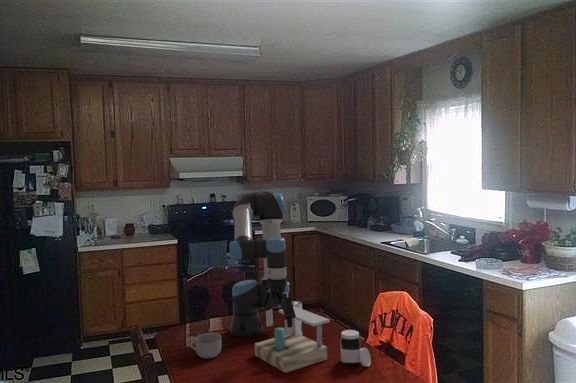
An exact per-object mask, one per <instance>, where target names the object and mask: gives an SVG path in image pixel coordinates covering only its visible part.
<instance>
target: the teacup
mask: <svg viewBox="0 0 576 383" xmlns="http://www.w3.org/2000/svg"><path fill="white" fill-rule="evenodd" d="M191 341H193V342H194V344H195V345H193V344H192V343H191ZM187 344H188V346H189V348H191V349H192V350H194V351H195V352H196V354H197V356H199V358H202V359H203V360H209V359H210V358H211V359H215V358H216V357H217V356H218V355H219V354H220V353H221V351H222V335H221V334H220V333H217V332H204V333H201V334H198V335H196V337H193V336H192V337H189V339H188V340H187Z"/></svg>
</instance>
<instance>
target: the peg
mask: <svg viewBox="0 0 576 383" xmlns="http://www.w3.org/2000/svg"><path fill="white" fill-rule="evenodd" d="M273 331H274V332H273V334H274V338H275V351H277V352H279V351H282V350H285V327H275V328H274V330H273Z"/></svg>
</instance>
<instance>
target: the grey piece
mask: <svg viewBox="0 0 576 383" xmlns="http://www.w3.org/2000/svg"><path fill="white" fill-rule="evenodd" d="M293 309H294V312H295V315H296V317H295V318H292V335H293V336H294V335H296V325H295V319H297V320H299V321H302V323H304V324H307V325H310V326H311V327H316V342H317V347H319V348H320V347H322V345H323V333H322V332H323V329H322V327H323V325H324V324H326V323H327V324H328V323H330V318H326V317H324V316H321V315H319V314H315V313H313V312H311V311H309V310H305V309H303V308H302V309H300V308H297V307H295V306H293ZM278 313H280V314H282V315H284V316H285V314H284V312H283V310H282V308H281V309H278Z"/></svg>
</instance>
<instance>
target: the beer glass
mask: <svg viewBox="0 0 576 383" xmlns="http://www.w3.org/2000/svg"><path fill="white" fill-rule="evenodd" d="M291 302H292V305H293V306H295V307H297V308H300V309H303V303H302V301H298V300H293V301H292V300H291ZM302 323H303V322H302V321H299V320H297V319H295V325H296V333H297V334H299V335H301V336H303V331H302Z"/></svg>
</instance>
